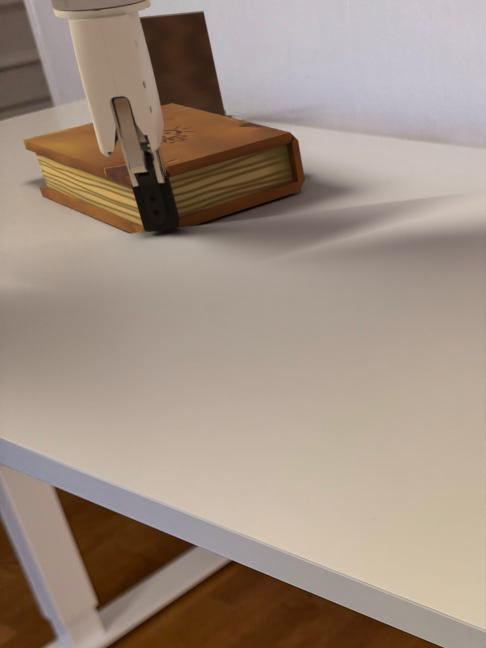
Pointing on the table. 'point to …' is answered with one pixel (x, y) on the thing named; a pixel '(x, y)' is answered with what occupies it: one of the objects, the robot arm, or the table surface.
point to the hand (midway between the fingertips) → (162, 226)
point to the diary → (173, 168)
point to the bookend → (183, 61)
